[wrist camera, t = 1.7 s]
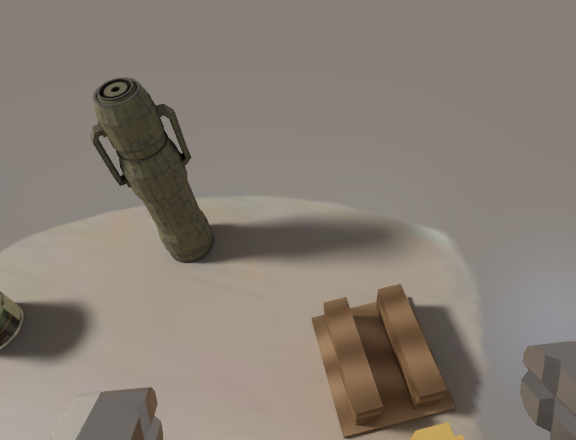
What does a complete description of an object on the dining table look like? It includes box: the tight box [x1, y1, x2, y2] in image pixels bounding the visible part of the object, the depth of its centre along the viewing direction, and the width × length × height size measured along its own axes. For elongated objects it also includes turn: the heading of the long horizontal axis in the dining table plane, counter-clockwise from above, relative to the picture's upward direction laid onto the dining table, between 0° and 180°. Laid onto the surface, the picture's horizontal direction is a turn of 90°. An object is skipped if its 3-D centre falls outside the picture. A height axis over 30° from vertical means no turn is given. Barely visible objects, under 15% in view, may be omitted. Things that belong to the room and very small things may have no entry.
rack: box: [312, 284, 456, 438], centre depth 62 cm, size 18×16×7 cm
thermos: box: [91, 78, 214, 263], centre depth 69 cm, size 9×12×35 cm
